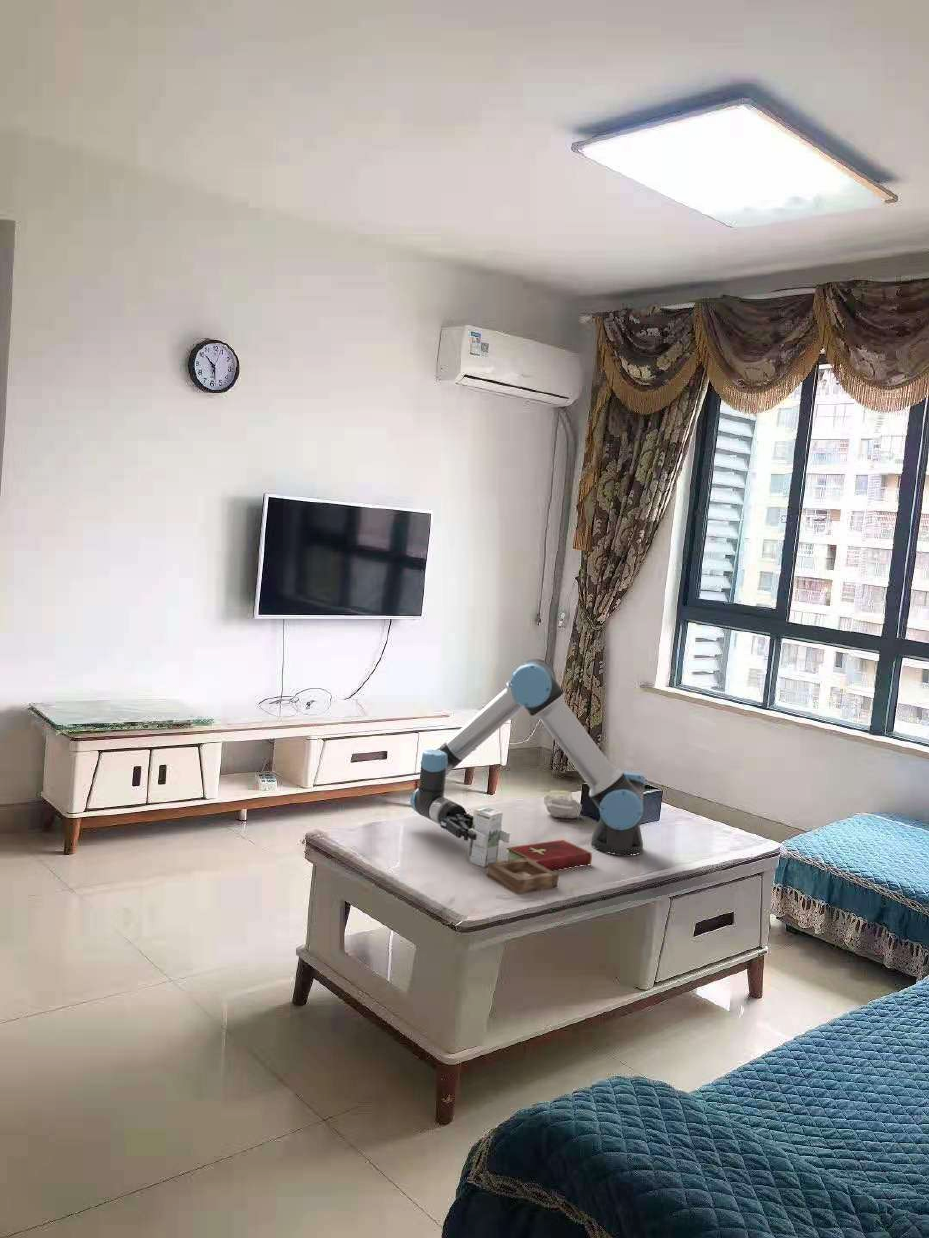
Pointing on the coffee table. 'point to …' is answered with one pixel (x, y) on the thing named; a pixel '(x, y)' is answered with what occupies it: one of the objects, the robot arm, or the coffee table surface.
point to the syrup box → (490, 826)
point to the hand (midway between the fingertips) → (496, 839)
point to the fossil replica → (562, 804)
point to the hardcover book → (552, 854)
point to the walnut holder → (522, 875)
